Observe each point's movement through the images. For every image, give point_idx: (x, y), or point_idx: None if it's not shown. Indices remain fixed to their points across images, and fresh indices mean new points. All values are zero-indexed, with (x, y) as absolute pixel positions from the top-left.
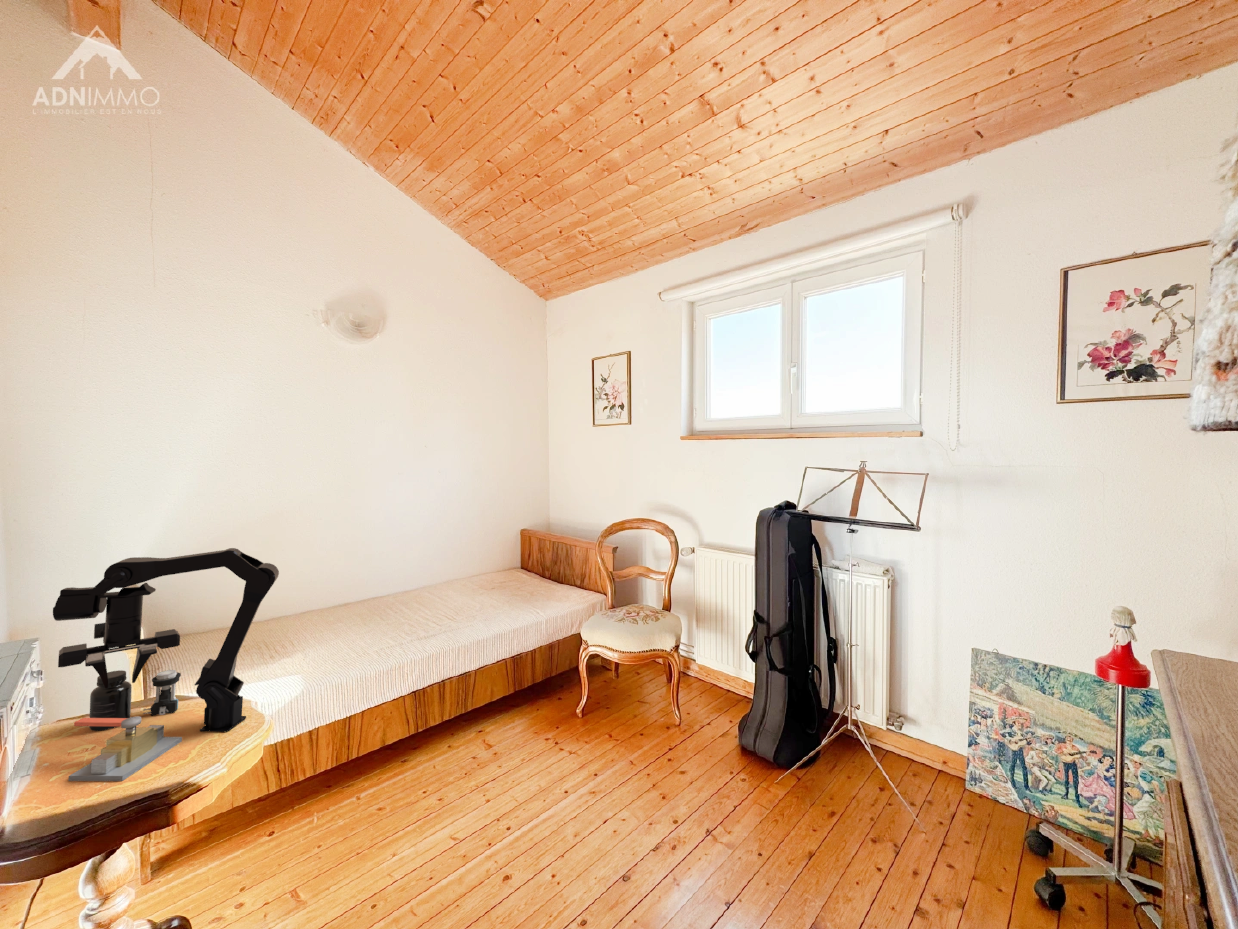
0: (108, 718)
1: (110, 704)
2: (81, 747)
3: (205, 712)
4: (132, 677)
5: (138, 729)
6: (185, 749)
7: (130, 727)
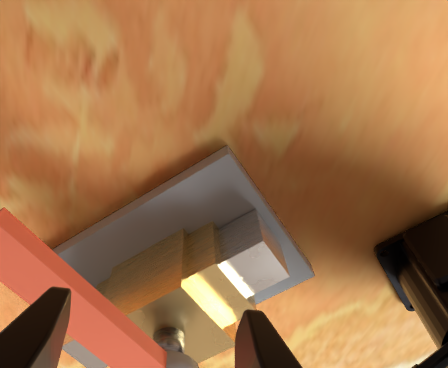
0: (98, 315)
1: None
2: (71, 17)
3: (427, 273)
4: (244, 365)
5: (197, 326)
6: (291, 313)
7: None
